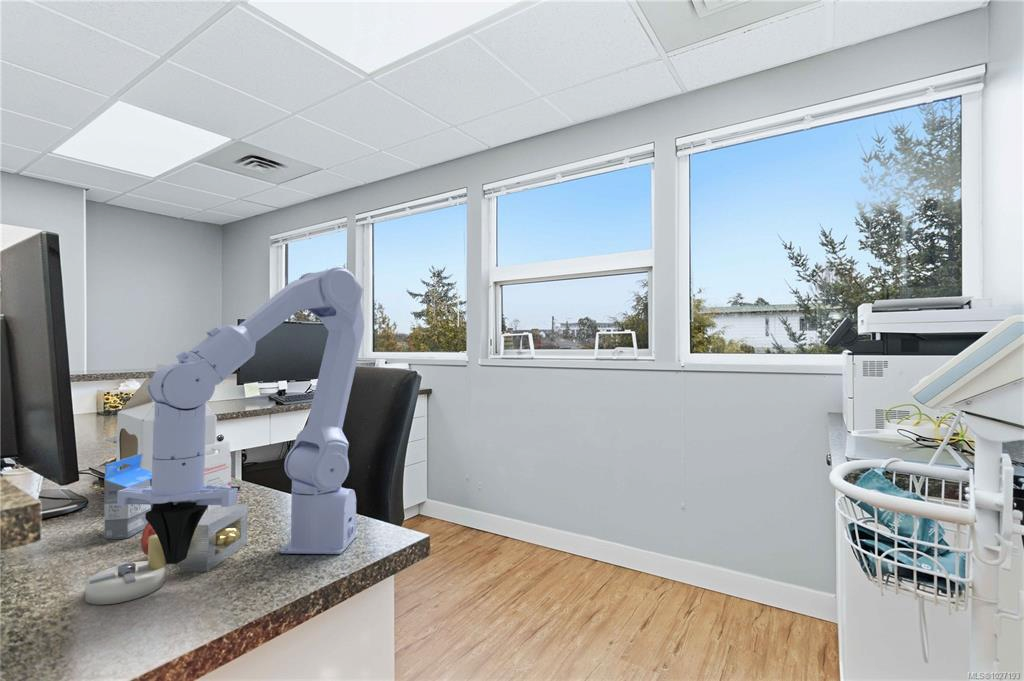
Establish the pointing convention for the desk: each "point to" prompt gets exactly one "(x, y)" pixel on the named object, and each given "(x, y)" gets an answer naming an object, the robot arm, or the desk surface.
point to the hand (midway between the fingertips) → (176, 561)
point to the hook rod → (222, 536)
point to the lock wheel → (128, 579)
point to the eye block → (204, 538)
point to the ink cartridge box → (218, 467)
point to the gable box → (147, 427)
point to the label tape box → (127, 517)
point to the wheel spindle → (126, 569)
